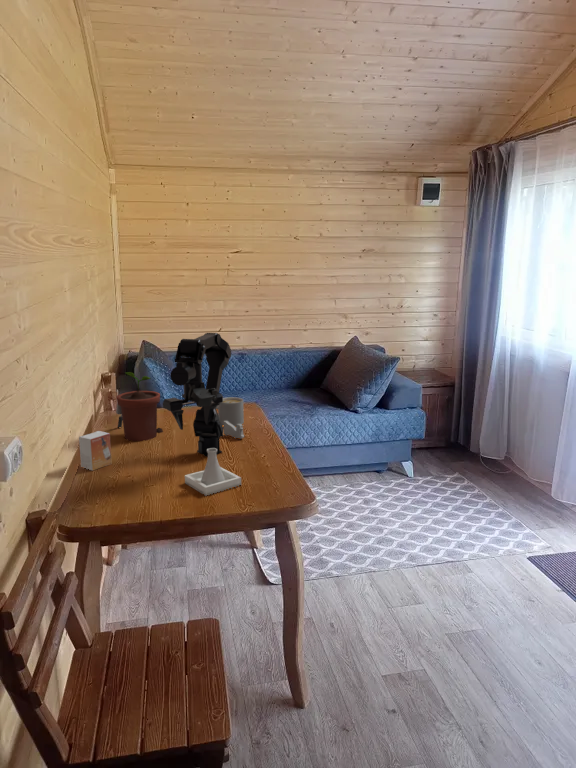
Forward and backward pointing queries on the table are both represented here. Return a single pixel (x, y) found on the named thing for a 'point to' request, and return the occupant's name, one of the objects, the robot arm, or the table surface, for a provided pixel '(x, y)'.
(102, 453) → the small box
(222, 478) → the flask
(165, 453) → the table surface
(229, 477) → the shaker caddy
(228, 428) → the grey tape dispenser
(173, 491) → the table surface
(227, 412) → the coffee mug
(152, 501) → the table surface
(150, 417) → the potted plant
